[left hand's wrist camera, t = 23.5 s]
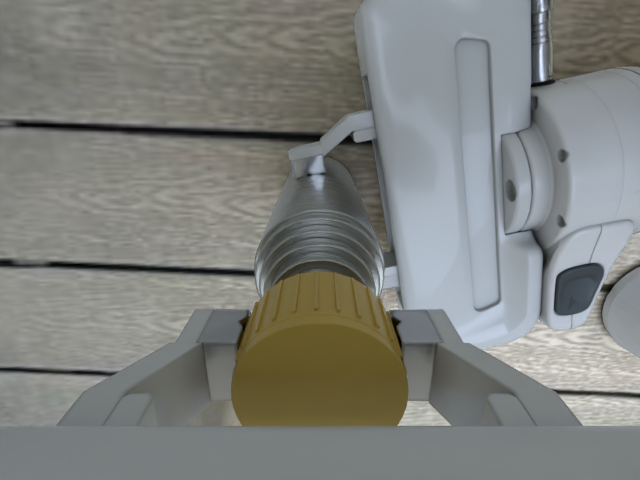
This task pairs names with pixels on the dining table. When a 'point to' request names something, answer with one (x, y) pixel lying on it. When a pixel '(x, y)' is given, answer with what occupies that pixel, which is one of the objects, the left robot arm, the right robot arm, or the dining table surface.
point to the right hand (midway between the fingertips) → (304, 218)
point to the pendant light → (624, 312)
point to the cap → (319, 357)
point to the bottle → (320, 232)
